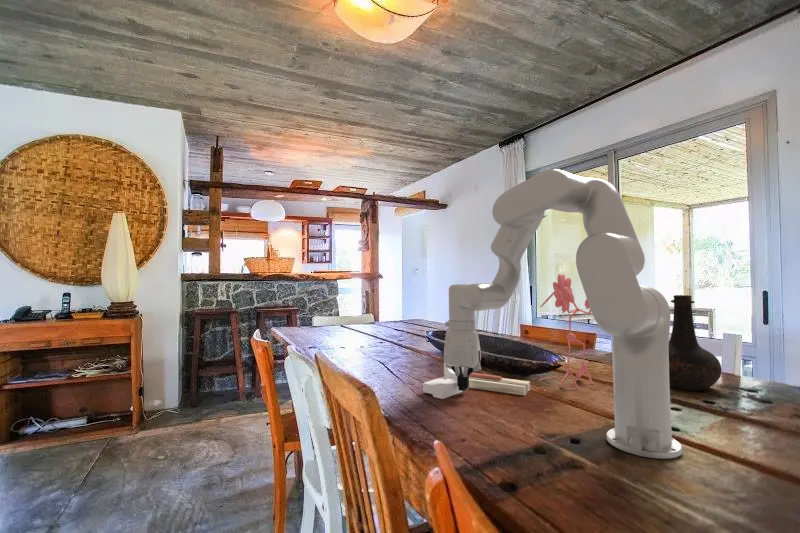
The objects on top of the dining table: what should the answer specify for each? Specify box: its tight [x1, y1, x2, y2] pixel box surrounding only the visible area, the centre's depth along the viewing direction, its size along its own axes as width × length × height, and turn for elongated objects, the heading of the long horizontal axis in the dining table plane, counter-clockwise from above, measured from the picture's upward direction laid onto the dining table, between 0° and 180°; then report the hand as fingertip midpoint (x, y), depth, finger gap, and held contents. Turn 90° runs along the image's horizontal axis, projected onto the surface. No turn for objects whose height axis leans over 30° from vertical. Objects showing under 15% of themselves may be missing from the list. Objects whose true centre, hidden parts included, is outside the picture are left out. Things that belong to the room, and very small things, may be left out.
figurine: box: [537, 273, 606, 390], centre depth 123 cm, size 15×26×35 cm, turn 127°
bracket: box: [422, 363, 464, 400], centre depth 114 cm, size 13×7×8 cm, turn 137°
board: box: [468, 376, 531, 396], centre depth 118 cm, size 7×24×2 cm, turn 59°
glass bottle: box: [669, 294, 723, 392], centre depth 117 cm, size 18×18×28 cm
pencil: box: [469, 372, 503, 381], centre depth 121 cm, size 14×1×1 cm, turn 54°
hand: (463, 389), depth 111 cm, fingers closed
